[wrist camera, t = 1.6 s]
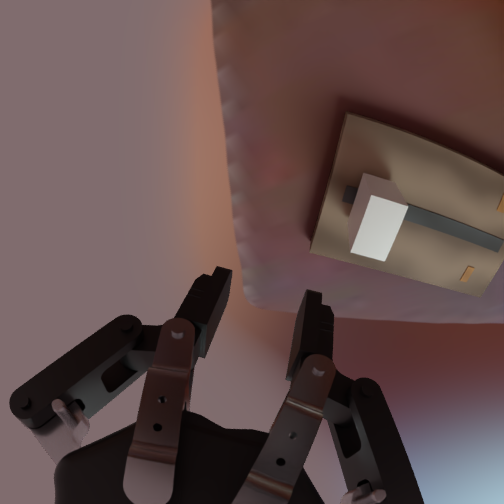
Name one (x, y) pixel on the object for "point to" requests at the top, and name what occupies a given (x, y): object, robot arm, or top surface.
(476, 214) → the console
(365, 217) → the fader tab
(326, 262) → the top surface
